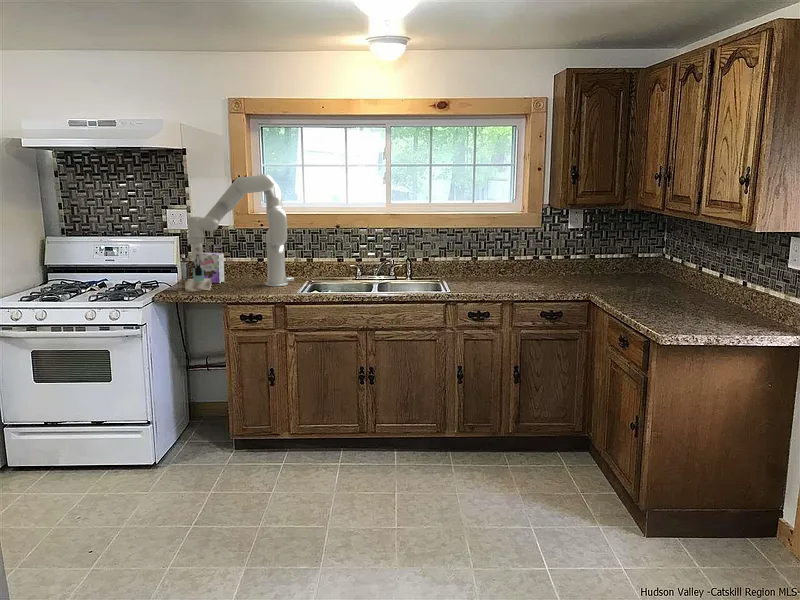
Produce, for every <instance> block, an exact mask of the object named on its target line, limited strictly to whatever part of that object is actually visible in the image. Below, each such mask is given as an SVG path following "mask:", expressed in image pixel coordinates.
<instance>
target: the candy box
mask: <svg viewBox="0 0 800 600" xmlns="http://www.w3.org/2000/svg"><path fill="white" fill-rule="evenodd" d="M224 257H225V256H224V253H218V252H217V253H216V252H203V263H202V262H201V268H203V269H204V278H211V283H212V284H216V283H220V284H222V283H221V282H224V283H225V258H224Z"/></svg>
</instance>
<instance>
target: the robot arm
mask: <svg viewBox="0 0 800 600" xmlns="http://www.w3.org/2000/svg"><path fill="white" fill-rule="evenodd" d="M260 192H261V193H262V192H263V193H264V196H265V205H266V207H265V208H266V211H265V212H266V214H265V215H266V216H265V218H266V220H267V221H268V230H267V231H266V233H265V243H266V244H265V245H266V246H265V247H266V261H267V262H266V265H267V281H266V282H264V285H265V286H266V287H283V286H284V287H285V286H288V285H289V282H294V281H295V277H287V276H286V260H285V259H286V256H285V255H286V254H285V252H286V251H285V243H286V242H287V240H288V217H287V214H286V211H285V210H284V209H283V195H282V191H281V188H280V186H279V185H278V183H277V182H276V181H275V180H274V178H273V177H272V176H271V175H270V174H267V173H266V174H265V173H264V174H263V173H262V174H259V175H258V174H257V175H252V176H251V175H250V176H238V177H237V178H235V180H234V181H233V182H232V183H231V184H230V186H228V188H227V189H226V191H225V192H224V193H223V194H222V195H221V197H220V198H219V199H218V200H217V202H216V203H215V204H214V205H213V206H212V208H211V209H210V210H209V211H208V212H207V214H206V215H205V216H204V217H201V216H189V217H188V218H187V229H188V230H187V231H188V232H187V234H188V244H189V245H191V257H192V261H193V263H194V265H193V267H194V268H193V269H195V275H196V276H201V275H202V268H201V262H202V263H203V253H204V251H203V244H205V236H204V231H206V232H213V231H217V229H218V228H219V224H220V222H221V221H222V219H223V218H224V217H225V216H226V215H227V214H228V213H229V212H231V211H232V210H233V209H235V207H236V206H237V205H238V203H240V201H241V200H242V199H243V198H244V197H245V195H246V194H253V193H260Z"/></svg>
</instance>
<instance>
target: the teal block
mask: <svg viewBox="0 0 800 600" xmlns="http://www.w3.org/2000/svg"><path fill="white" fill-rule="evenodd" d="M192 273H193V274H192V277H193V278H192V279H193V280H194V281H204V269H203V268H202V275H201V276H196V275H195V269H194V268H192Z"/></svg>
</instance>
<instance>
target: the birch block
mask: <svg viewBox="0 0 800 600" xmlns="http://www.w3.org/2000/svg"><path fill="white" fill-rule="evenodd" d="M212 284H213V283H211V278H204V281H194V280H193V278H187V279H186V281H185V282H184V285H185V287H184V289H185V292H202V291H201V290H211V289H212V287H211V286H213V285H212ZM210 288H211V289H210Z"/></svg>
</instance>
